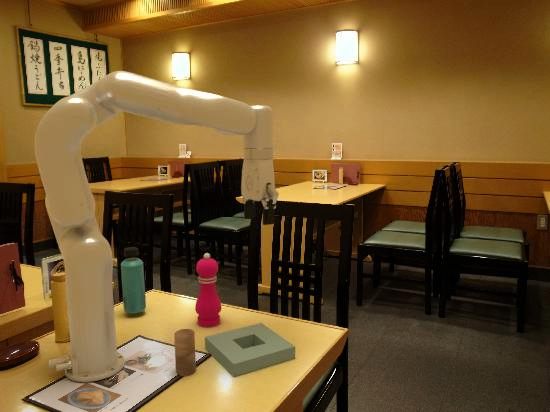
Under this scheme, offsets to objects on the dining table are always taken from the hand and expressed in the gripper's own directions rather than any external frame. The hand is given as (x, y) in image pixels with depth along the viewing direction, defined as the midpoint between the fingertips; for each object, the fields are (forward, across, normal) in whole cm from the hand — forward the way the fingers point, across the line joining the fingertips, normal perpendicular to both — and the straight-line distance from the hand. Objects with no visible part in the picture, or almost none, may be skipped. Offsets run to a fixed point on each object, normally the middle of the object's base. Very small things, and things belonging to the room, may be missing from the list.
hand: (259, 221), depth 122 cm
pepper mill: (+30, -11, -10) cm, 33 cm away
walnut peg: (+30, +10, -25) cm, 40 cm away
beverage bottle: (+30, -28, -26) cm, 49 cm away
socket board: (+30, +11, -9) cm, 33 cm away
